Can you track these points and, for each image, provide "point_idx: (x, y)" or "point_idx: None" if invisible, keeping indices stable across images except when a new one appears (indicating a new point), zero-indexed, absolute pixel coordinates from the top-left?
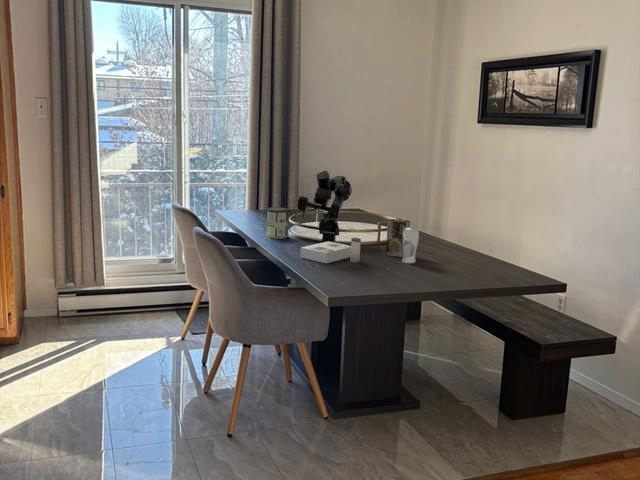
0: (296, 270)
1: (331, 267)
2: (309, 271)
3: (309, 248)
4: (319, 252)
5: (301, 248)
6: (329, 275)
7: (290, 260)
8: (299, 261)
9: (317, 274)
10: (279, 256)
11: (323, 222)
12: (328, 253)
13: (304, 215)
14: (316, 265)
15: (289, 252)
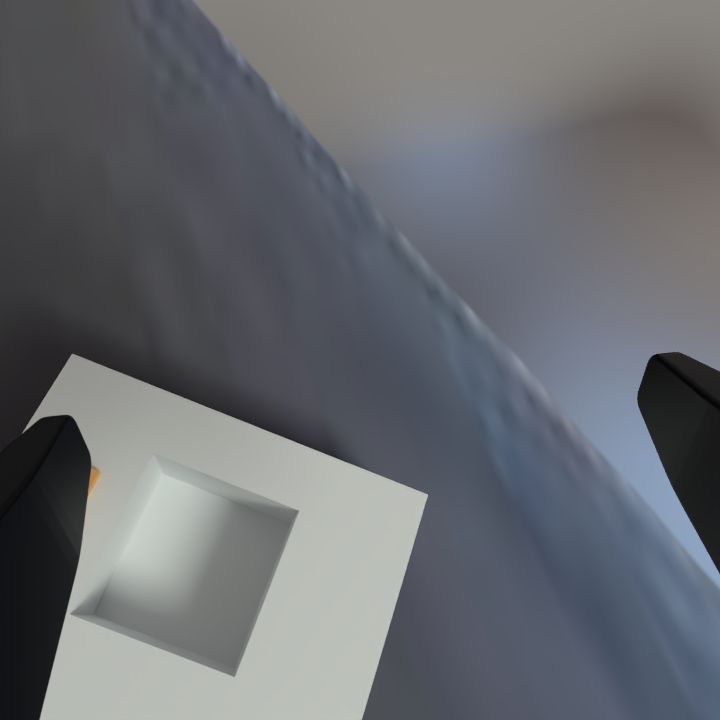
0: (276, 114)
1: (17, 277)
2: (179, 116)
3: (320, 494)
4: (165, 393)
5: (413, 491)
6: (4, 62)
7: (430, 367)
8: (349, 366)
9: (102, 64)
10: (572, 463)
11: (81, 462)
12: (50, 398)
13: (678, 452)
14: (168, 293)
15: (581, 687)
